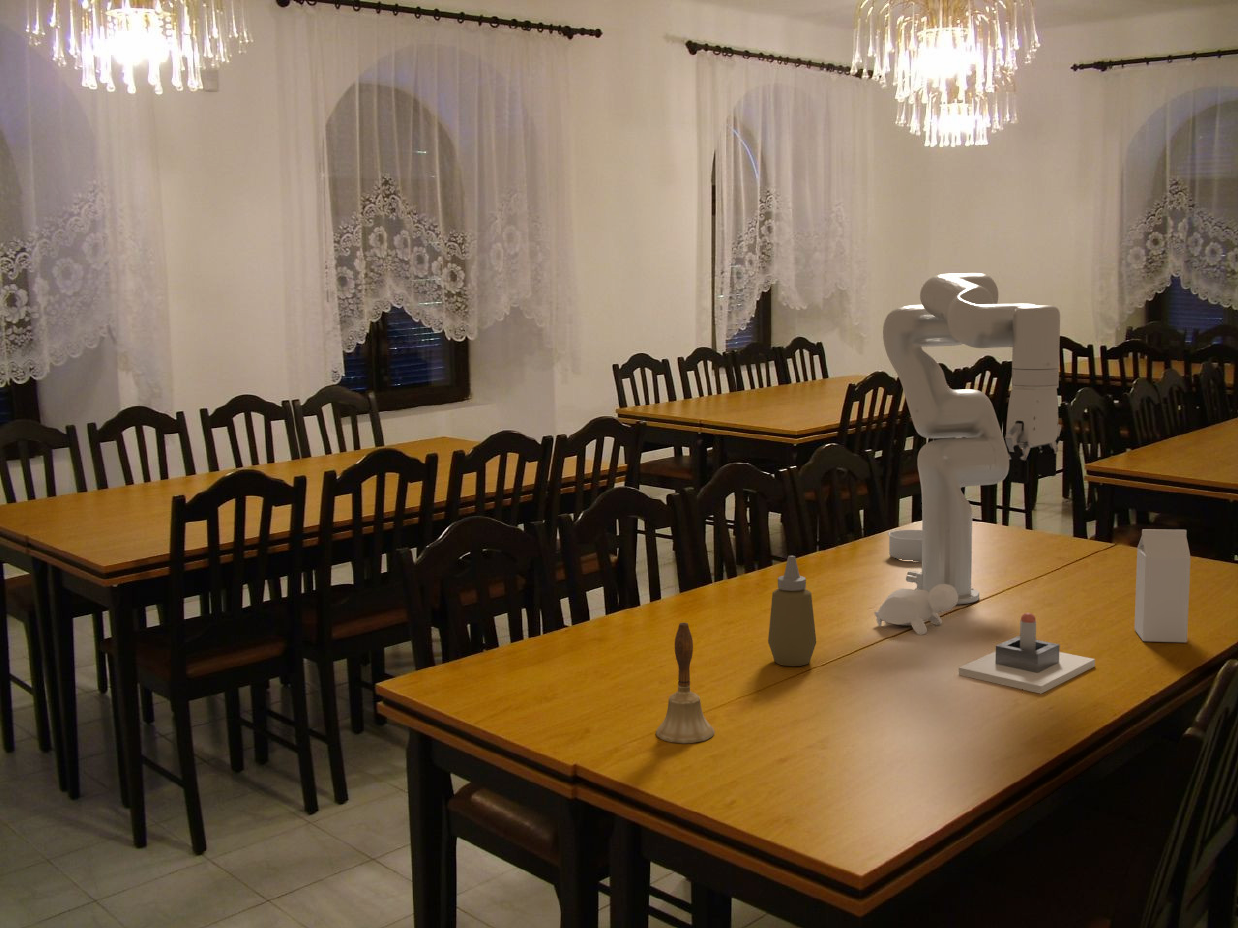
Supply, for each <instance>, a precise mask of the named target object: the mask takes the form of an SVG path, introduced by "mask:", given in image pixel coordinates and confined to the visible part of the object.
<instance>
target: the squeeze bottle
mask: <svg viewBox="0 0 1238 928" xmlns="http://www.w3.org/2000/svg"><path fill="white" fill-rule="evenodd" d="M806 581H807V579H806V577H805V576H803V575H800V573H799V566H798V563H797V558H796V556H795V555H788V556H787V559H786V563H785V569H784V574H783V575H781V576H779V577H777V588H776V589H775V590H773V591H772V596H771V604H770V615H769V617H770V618H769V627H768V639H767V643H768V646H769V648H770V652H771V655H772V658H773V660H774V662H775V663H776V664H777V665H781V666H786V667H800V666H801V667H802V666H806V665H808V664H809V663H811V660H812V657H813V654H814V651H815V647H816V644H817V635H816V633H817V632H816V626H815V615H814V607H813V597H812V592H811V591H810V590H808V589H807V587H806V586H807V582H806Z"/></svg>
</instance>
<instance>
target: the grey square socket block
mask: <svg viewBox="0 0 1238 928" xmlns="http://www.w3.org/2000/svg"><path fill="white" fill-rule="evenodd" d="M995 651H996V661H995V664H998V665H1003V666H1008V667H1012V668H1017V669H1021V670H1026V671H1030V672H1035V673H1039V672H1041V671H1043V670H1045V669H1047V668H1049V667H1051V666H1053V665H1055V664H1057V663H1059V652H1060V643H1054V642H1048V641H1045V640H1041V639H1040V640H1039V639H1036V650H1035V651H1030V650H1026V649H1021V648H1020V635H1018V636H1014V637H1012V638H1010V639H1008V640H1006V641H1004V642H1001V643H998V644H996V645H995Z"/></svg>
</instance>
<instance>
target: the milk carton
mask: <svg viewBox="0 0 1238 928" xmlns="http://www.w3.org/2000/svg"><path fill="white" fill-rule="evenodd" d="M1136 548H1137V549H1136V553H1137V554H1136V573H1135V575H1136V576H1135V579H1136V581H1135V602H1134V603H1135V605H1134V606H1135V609H1134V631H1135V632H1136V633H1137V635H1138V636H1139V638H1140V639H1141V640H1142V641H1143V642H1158V643H1159V642H1161V643H1188V625H1189V624H1188V621H1189V604H1190V603H1189V601H1190V579H1191V577H1190V575H1191V574H1190V573H1191V554H1190V553H1191V552H1190V548H1189V543H1188V539H1187V529H1155V528H1154V529H1150V528H1149V529H1147V528H1146V529H1142V530H1141V537H1140V540H1139V543H1138V545H1137V547H1136Z"/></svg>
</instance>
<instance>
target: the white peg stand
mask: <svg viewBox="0 0 1238 928" xmlns="http://www.w3.org/2000/svg"><path fill="white" fill-rule="evenodd" d="M1035 616H1036V615H1034V614H1033V613H1030V612H1025V613H1023V614H1022V616H1021V618H1020V623H1019V624H1020V627H1019V636H1020V648H1021V649H1026V650H1030V651H1035V650H1036V640H1037V620H1036V617H1035ZM995 661H996V650H995V651H993V652H991V653H988V654H986V655H983V656H982V657H979V658H978V659H974V660H972V661H971V662H968V663H966V664H963V665H961V666H959V667H958V676H962V677H967V678H972V679H976V680H980V681H983V682H984V681H985V682H988V683H993V684H996V685H997V684H998V685H1001V686H1006V687H1010V688H1014V689H1018V690H1022V689H1023V691H1027V692H1032V693H1035V694H1036V693H1037V694H1040V695H1042V694H1044V693H1046V692H1047V691H1049V690H1051V689H1054V688H1055V687H1057V686H1059V685H1061V684H1063V683H1065V682H1067V681H1070V680H1071V679H1073V678H1075V677H1077V676H1079V675H1082V674H1083V673H1084V672H1086V671H1089V670H1090V669H1092V668H1094V667H1095V666H1096V659H1095V658H1092V657H1087V656H1080V655H1076V654H1071V653H1067V652H1062V651H1059V663H1057V664H1055V665H1053V666H1051V667H1049V668H1047V669H1045V670H1043V671H1041V672H1039V673H1035V672H1030V671H1026V670H1021V669H1017V668H1012V667H1008V666H1003V665H998V664H995Z"/></svg>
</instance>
